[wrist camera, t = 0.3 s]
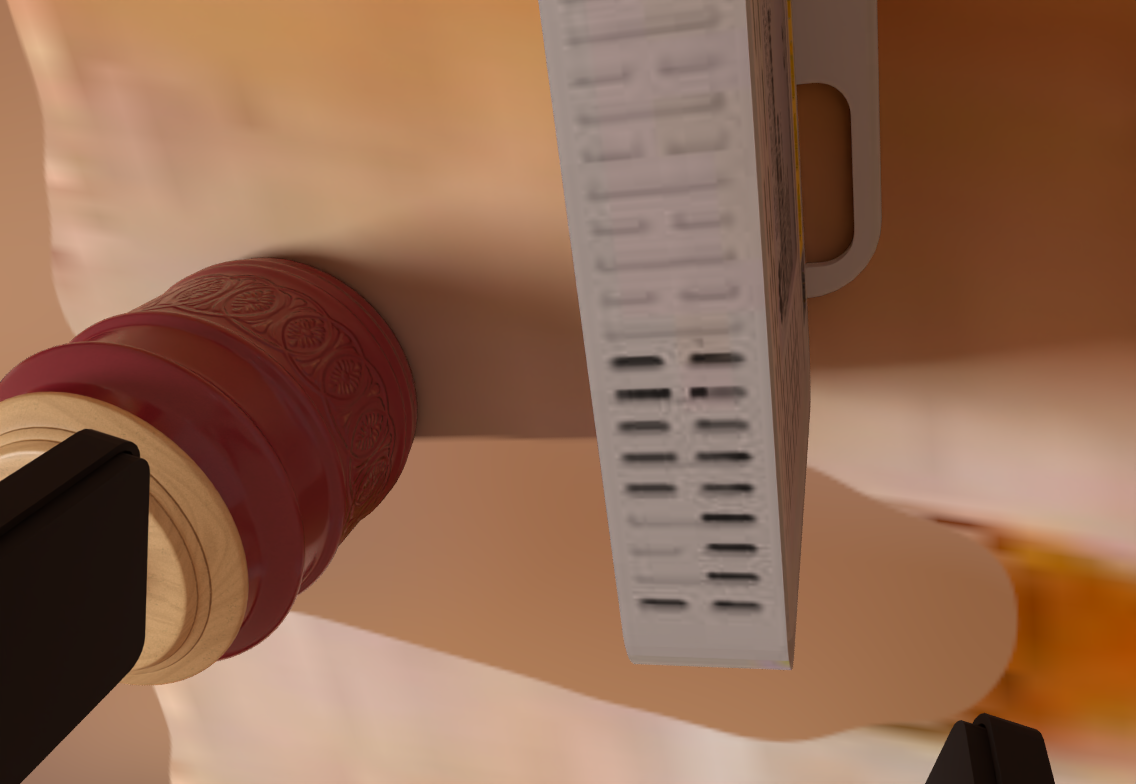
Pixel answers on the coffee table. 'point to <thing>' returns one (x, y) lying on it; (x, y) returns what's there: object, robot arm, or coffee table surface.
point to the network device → (704, 294)
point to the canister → (230, 441)
